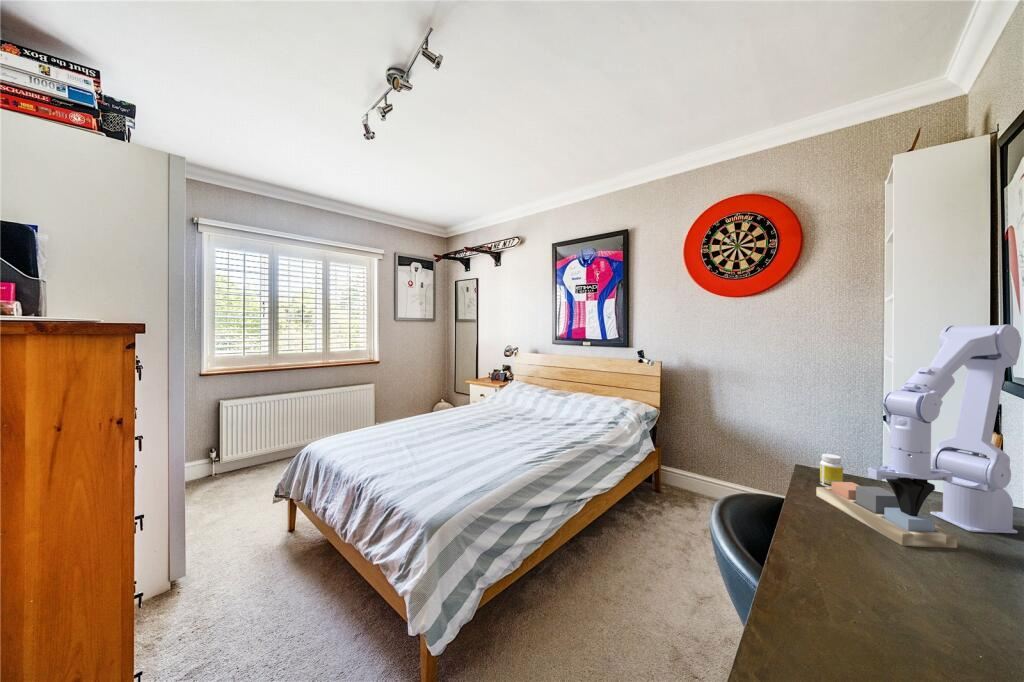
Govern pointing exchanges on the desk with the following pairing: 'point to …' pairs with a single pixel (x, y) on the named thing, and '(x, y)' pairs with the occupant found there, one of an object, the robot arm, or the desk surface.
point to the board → (888, 523)
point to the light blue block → (909, 520)
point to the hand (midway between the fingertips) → (908, 513)
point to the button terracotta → (845, 489)
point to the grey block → (875, 499)
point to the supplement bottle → (830, 469)
